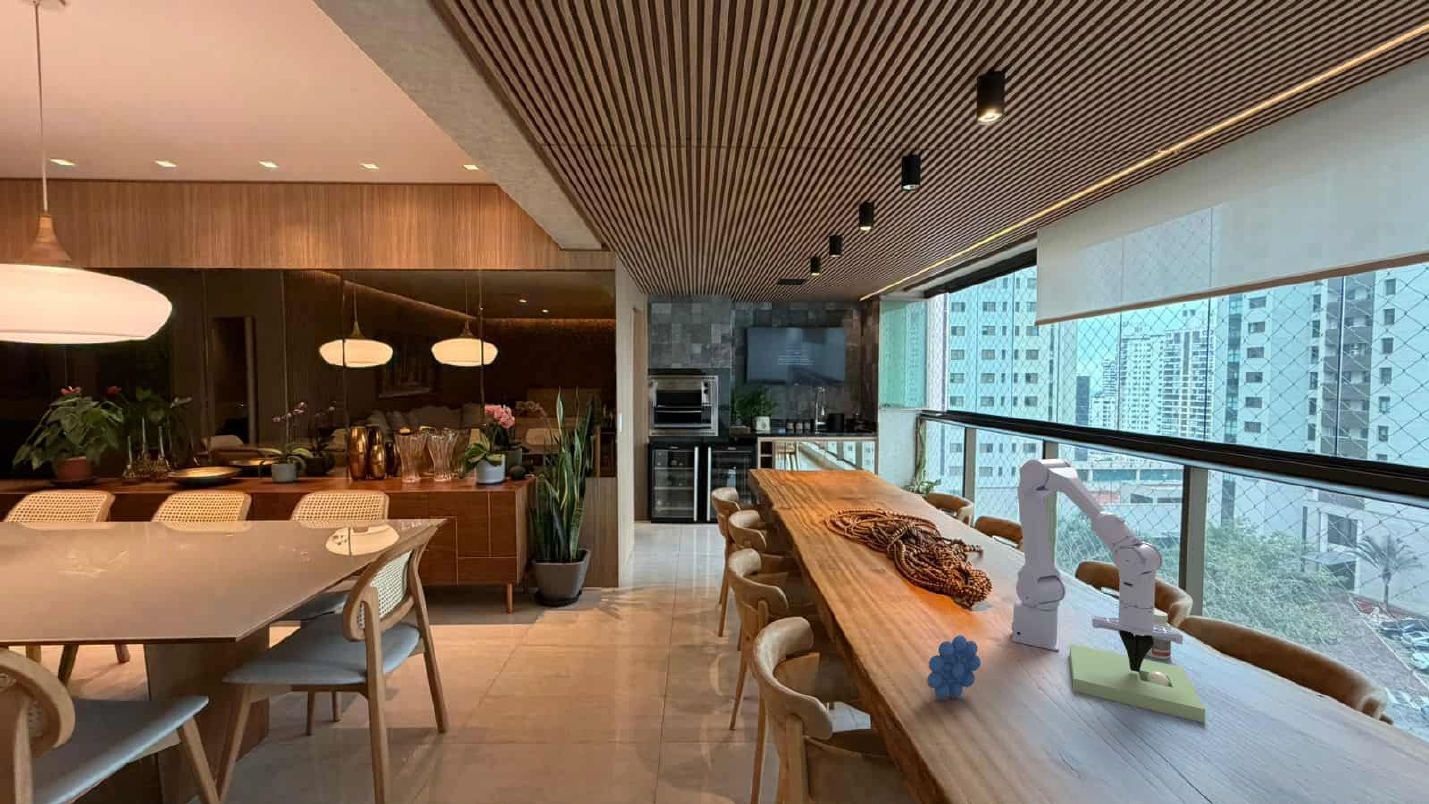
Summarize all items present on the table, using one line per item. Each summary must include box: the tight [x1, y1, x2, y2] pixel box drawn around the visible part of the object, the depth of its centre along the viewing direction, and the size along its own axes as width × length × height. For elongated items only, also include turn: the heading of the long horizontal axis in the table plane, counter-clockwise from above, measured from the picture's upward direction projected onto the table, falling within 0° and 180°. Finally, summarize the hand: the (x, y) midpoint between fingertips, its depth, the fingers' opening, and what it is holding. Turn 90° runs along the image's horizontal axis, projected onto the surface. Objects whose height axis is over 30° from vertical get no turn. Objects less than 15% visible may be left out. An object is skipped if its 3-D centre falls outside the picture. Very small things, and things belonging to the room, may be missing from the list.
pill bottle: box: [1146, 609, 1172, 660], centre depth 126 cm, size 5×5×10 cm
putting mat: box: [1069, 643, 1206, 724], centre depth 112 cm, size 20×18×2 cm
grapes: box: [926, 635, 981, 699], centre depth 108 cm, size 12×7×12 cm, turn 105°
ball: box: [1147, 671, 1169, 687], centre depth 110 cm, size 4×4×4 cm
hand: (1134, 669), depth 112 cm, fingers closed
